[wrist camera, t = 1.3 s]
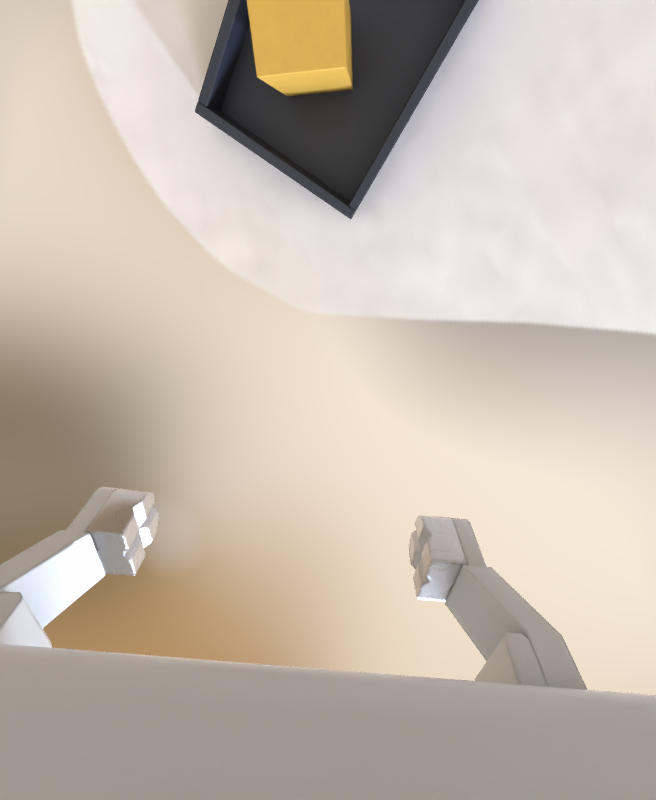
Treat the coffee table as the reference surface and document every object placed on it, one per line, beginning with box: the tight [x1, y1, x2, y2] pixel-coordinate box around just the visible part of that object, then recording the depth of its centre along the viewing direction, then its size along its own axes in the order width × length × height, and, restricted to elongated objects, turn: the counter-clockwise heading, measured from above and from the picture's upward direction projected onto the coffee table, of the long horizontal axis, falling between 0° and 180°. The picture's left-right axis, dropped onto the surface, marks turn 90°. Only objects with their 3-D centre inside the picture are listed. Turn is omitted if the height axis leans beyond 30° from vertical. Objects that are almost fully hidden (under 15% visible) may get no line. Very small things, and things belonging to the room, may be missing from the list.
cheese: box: [247, 0, 353, 96], centre depth 23 cm, size 5×4×9 cm
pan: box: [195, 0, 478, 219], centre depth 26 cm, size 16×13×4 cm
